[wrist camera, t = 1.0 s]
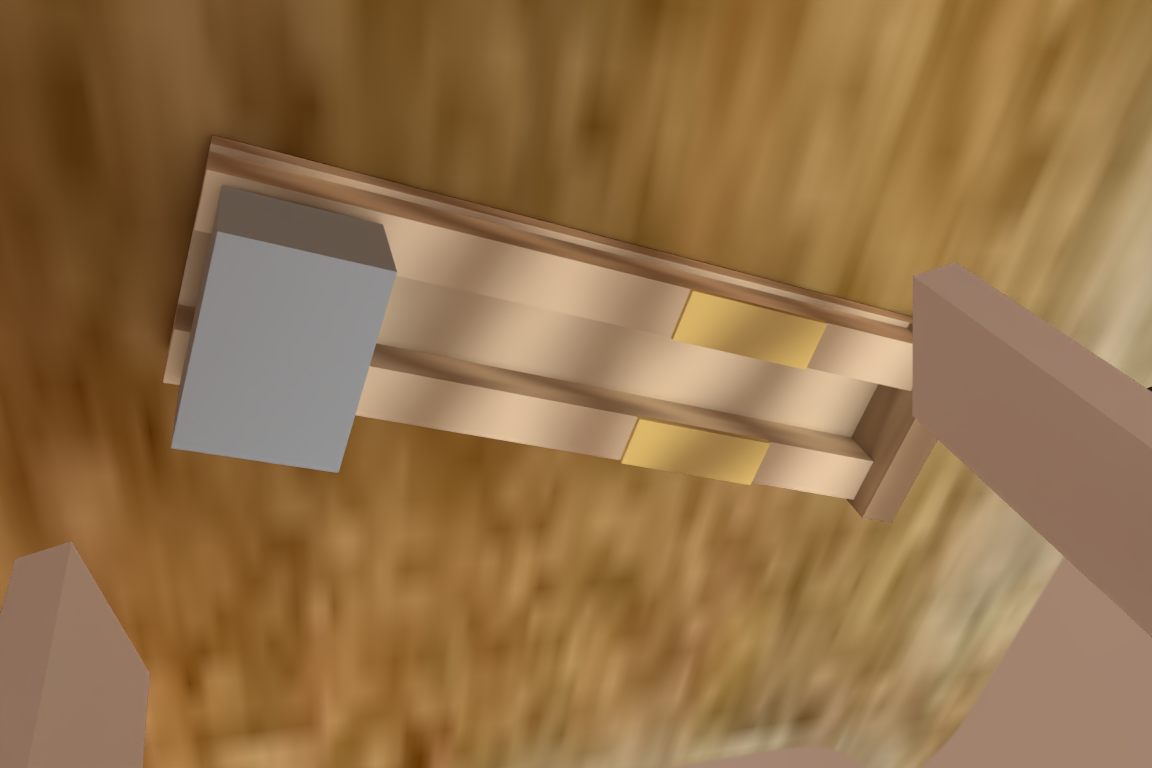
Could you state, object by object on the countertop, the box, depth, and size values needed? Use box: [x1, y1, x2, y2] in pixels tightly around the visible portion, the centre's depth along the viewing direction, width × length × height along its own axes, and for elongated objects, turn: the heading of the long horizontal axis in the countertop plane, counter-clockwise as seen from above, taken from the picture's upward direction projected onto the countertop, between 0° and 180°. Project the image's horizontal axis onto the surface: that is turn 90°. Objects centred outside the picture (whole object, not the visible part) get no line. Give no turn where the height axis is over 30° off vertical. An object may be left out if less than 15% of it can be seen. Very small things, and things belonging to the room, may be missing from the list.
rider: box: [171, 186, 397, 473], centre depth 33 cm, size 5×7×6 cm
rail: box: [163, 135, 938, 523], centre depth 39 cm, size 30×8×4 cm, turn 70°
